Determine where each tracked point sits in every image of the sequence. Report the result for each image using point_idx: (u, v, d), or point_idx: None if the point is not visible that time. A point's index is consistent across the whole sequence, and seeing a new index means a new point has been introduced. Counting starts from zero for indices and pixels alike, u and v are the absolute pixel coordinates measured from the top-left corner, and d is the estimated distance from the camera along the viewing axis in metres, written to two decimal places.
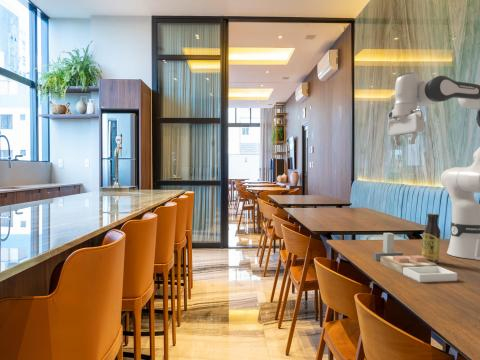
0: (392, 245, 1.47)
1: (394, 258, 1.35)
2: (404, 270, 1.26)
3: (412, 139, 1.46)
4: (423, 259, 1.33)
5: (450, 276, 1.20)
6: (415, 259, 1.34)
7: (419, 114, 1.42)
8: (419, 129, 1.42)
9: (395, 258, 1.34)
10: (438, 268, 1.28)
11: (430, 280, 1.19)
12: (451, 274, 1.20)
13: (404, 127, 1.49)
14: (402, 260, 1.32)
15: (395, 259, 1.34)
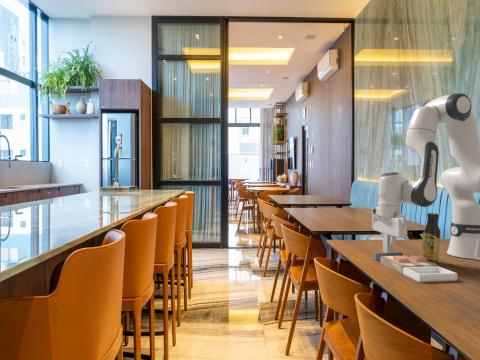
0: None
1: (394, 258, 1.35)
2: (404, 270, 1.26)
3: (392, 241, 1.45)
4: (423, 259, 1.33)
5: (450, 276, 1.20)
6: (415, 259, 1.34)
7: (402, 220, 1.39)
8: (402, 236, 1.38)
9: (395, 258, 1.34)
10: (438, 268, 1.28)
11: (430, 280, 1.19)
12: (451, 274, 1.20)
13: (387, 229, 1.46)
14: (402, 260, 1.32)
15: (395, 259, 1.34)
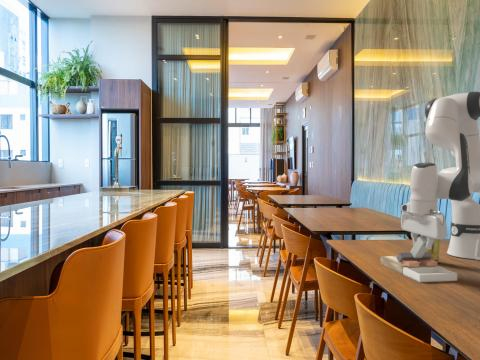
0: (424, 251, 1.28)
1: (403, 262, 1.29)
2: (404, 270, 1.26)
3: (428, 244, 1.23)
4: (434, 263, 1.28)
5: (450, 276, 1.20)
6: (426, 263, 1.28)
7: (441, 219, 1.18)
8: (441, 237, 1.17)
9: (404, 262, 1.29)
10: (438, 268, 1.28)
11: (430, 280, 1.19)
12: (451, 274, 1.20)
13: (421, 228, 1.25)
14: (412, 265, 1.26)
15: (404, 263, 1.29)
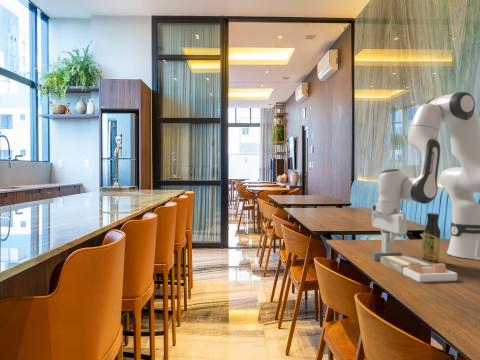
0: (391, 245, 1.47)
1: (409, 266, 1.26)
2: (404, 270, 1.26)
3: (391, 238, 1.45)
4: None
5: (450, 276, 1.20)
6: None
7: (402, 217, 1.39)
8: (402, 232, 1.38)
9: (410, 268, 1.26)
10: None
11: (430, 280, 1.19)
12: (451, 274, 1.20)
13: (387, 225, 1.46)
14: None
15: (410, 268, 1.26)
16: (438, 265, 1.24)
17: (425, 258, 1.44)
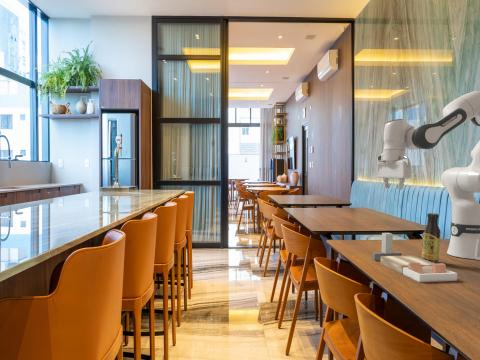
0: (391, 245, 1.47)
1: (409, 266, 1.26)
2: (404, 270, 1.26)
3: (400, 184, 1.50)
4: None
5: (450, 276, 1.20)
6: None
7: (406, 161, 1.46)
8: (406, 176, 1.46)
9: (410, 268, 1.26)
10: None
11: (430, 280, 1.19)
12: (451, 274, 1.20)
13: (392, 172, 1.53)
14: None
15: (410, 268, 1.26)
16: (438, 265, 1.24)
17: (425, 258, 1.44)
